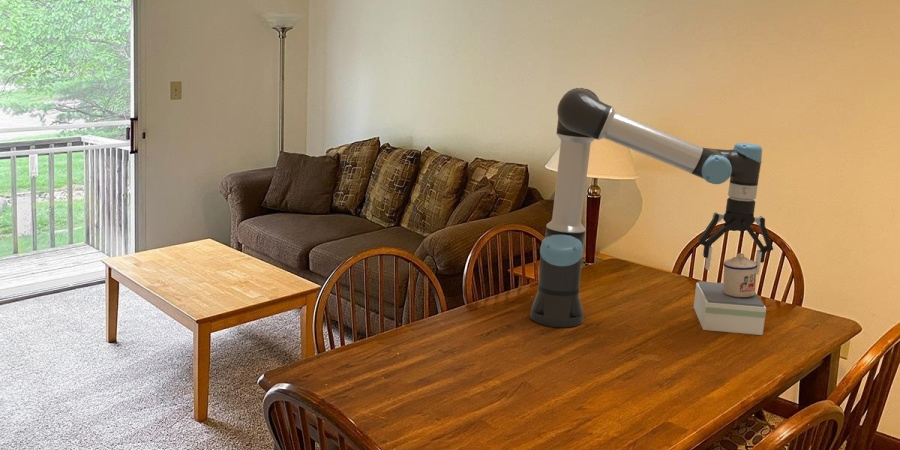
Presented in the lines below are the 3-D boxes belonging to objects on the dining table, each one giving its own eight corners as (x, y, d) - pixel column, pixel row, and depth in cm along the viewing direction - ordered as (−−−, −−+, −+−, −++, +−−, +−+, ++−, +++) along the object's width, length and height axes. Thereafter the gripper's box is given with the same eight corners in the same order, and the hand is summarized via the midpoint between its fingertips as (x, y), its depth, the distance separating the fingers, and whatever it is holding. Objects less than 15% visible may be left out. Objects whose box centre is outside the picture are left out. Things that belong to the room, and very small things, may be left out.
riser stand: (703, 330, 222) (706, 301, 220) (693, 307, 241) (696, 280, 239) (762, 335, 219) (766, 306, 217) (748, 312, 239) (751, 285, 237)
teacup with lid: (743, 299, 221) (745, 259, 219) (715, 292, 228) (717, 253, 226) (768, 291, 228) (770, 252, 225) (740, 284, 235) (741, 246, 233)
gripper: (697, 197, 221) (688, 270, 225) (791, 204, 217) (780, 278, 222) (694, 192, 228) (685, 263, 233) (784, 199, 224) (773, 271, 229)
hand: (731, 270), depth 227 cm, fingers open, 13 cm apart
